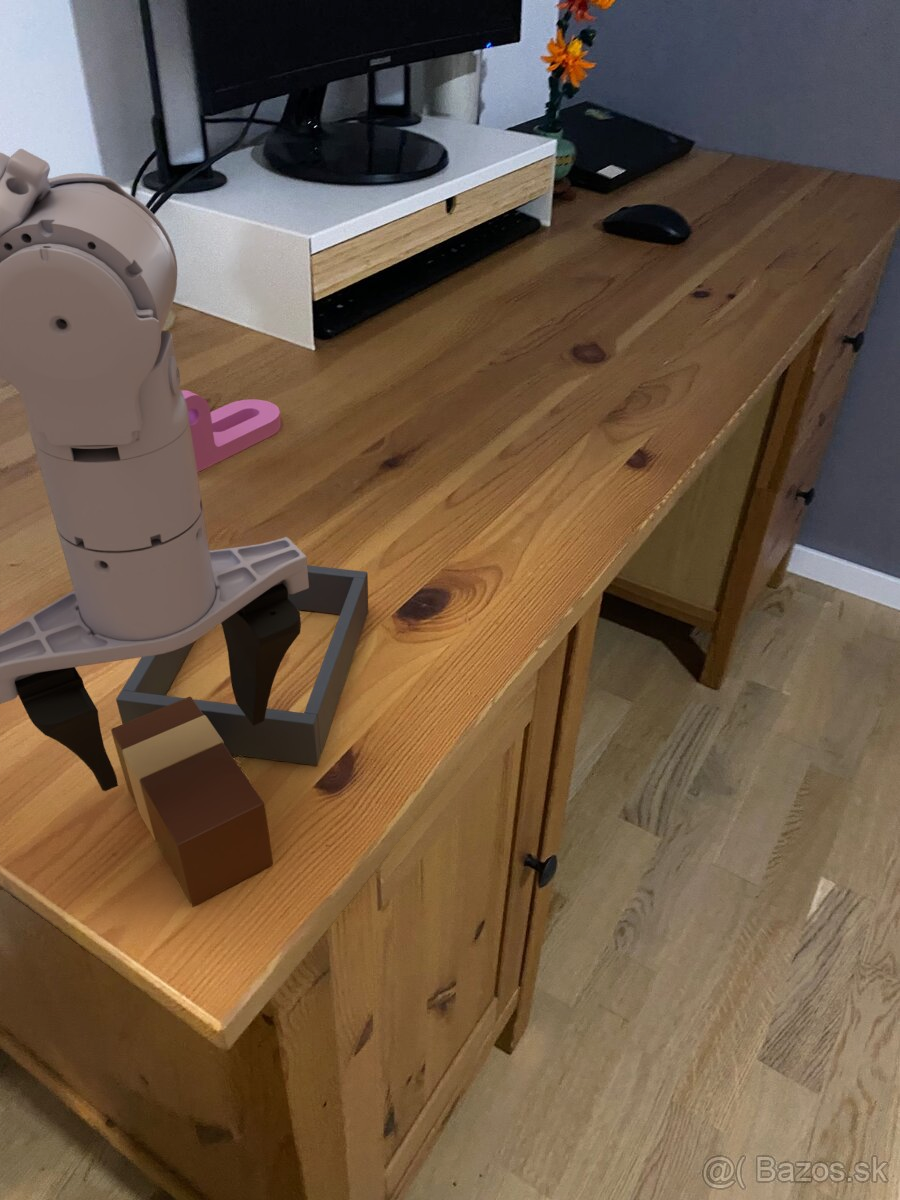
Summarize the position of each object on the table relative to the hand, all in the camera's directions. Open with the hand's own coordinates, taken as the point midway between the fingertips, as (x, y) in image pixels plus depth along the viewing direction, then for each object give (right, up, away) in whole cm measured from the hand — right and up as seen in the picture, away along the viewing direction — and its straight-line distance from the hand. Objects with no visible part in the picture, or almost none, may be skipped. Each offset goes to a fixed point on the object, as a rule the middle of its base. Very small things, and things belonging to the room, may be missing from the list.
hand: (180, 742), depth 45 cm
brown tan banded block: (0, -5, +4) cm, 7 cm away
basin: (+1, +3, +14) cm, 14 cm away
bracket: (-7, +21, +38) cm, 44 cm away
